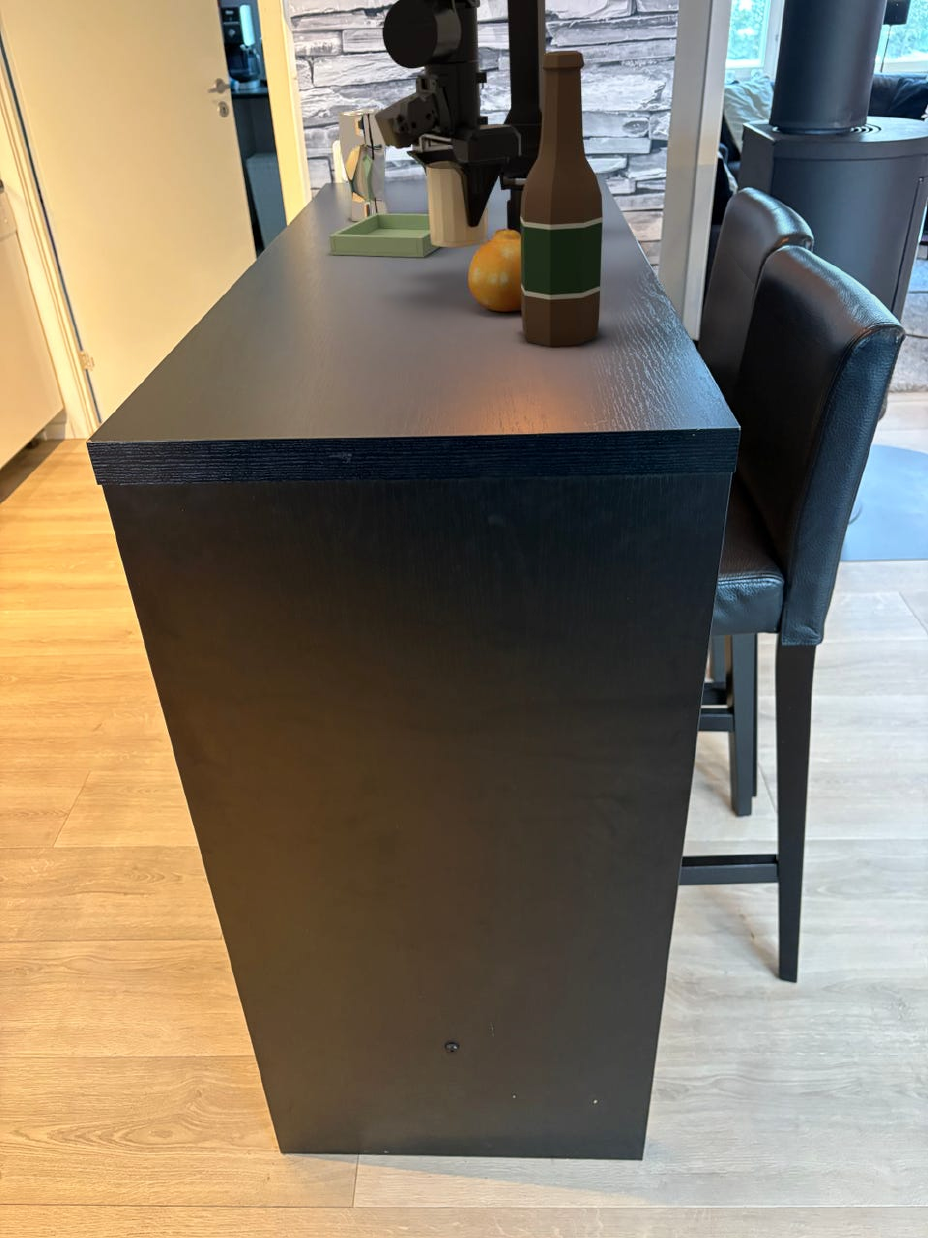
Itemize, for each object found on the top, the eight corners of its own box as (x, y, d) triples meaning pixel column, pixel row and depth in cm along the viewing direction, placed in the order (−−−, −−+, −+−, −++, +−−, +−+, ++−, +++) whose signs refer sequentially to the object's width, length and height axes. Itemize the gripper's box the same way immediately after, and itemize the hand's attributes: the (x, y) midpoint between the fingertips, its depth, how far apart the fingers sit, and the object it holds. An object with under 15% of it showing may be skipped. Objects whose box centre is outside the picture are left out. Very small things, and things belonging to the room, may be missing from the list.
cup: (495, 235, 108) (493, 159, 104) (477, 248, 103) (474, 168, 99) (442, 234, 110) (438, 159, 106) (422, 246, 105) (417, 168, 101)
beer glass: (385, 222, 145) (375, 113, 136) (342, 222, 146) (330, 114, 138) (396, 213, 150) (388, 108, 142) (355, 214, 152) (344, 109, 143)
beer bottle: (606, 326, 94) (617, 47, 81) (589, 349, 88) (598, 52, 74) (532, 322, 96) (530, 50, 83) (510, 345, 90) (505, 55, 77)
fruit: (496, 269, 106) (482, 212, 99) (562, 281, 103) (553, 222, 96) (466, 323, 103) (450, 268, 96) (533, 337, 100) (521, 281, 93)
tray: (462, 232, 135) (461, 214, 134) (423, 257, 123) (422, 237, 122) (376, 230, 139) (375, 213, 138) (330, 254, 127) (328, 235, 126)
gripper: (346, 65, 101) (361, 219, 110) (420, 70, 87) (431, 246, 96) (437, 58, 105) (445, 207, 114) (522, 61, 91) (524, 231, 100)
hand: (458, 221), depth 106 cm, fingers closed on cup, 6 cm apart
